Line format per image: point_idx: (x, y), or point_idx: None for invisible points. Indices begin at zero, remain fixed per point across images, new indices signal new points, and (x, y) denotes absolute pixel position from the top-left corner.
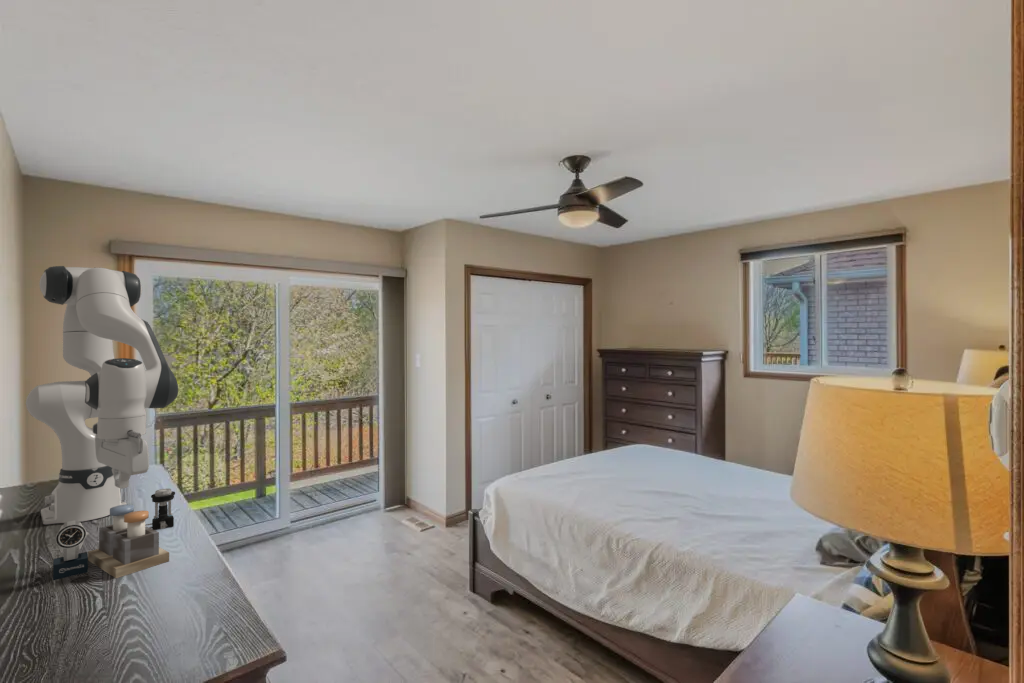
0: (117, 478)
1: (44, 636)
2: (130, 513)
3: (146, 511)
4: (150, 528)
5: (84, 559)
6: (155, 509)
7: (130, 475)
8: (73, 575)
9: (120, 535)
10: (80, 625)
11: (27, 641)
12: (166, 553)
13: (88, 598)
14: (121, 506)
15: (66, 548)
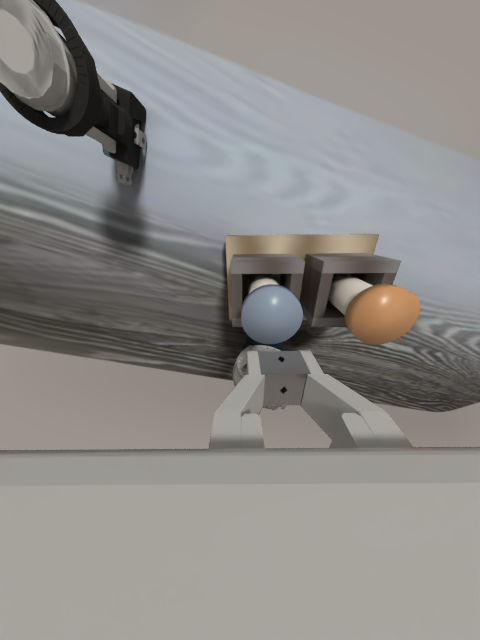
0: (262, 404)
1: (410, 390)
2: (362, 326)
3: (395, 292)
4: (350, 262)
5: (283, 341)
6: (97, 138)
7: (361, 397)
8: None
9: (328, 319)
10: (427, 370)
11: (402, 398)
12: (376, 240)
13: (370, 349)
14: (259, 315)
15: None
